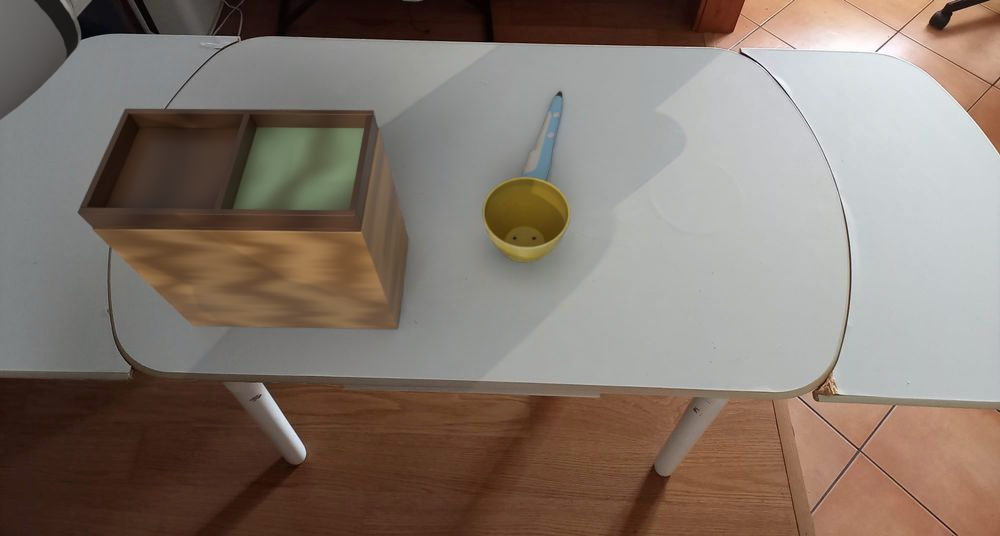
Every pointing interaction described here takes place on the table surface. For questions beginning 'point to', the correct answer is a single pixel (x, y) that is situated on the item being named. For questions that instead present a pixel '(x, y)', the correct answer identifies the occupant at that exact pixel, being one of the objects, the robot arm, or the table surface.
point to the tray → (234, 170)
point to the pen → (544, 143)
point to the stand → (281, 268)
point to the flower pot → (526, 217)
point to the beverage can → (412, 0)
